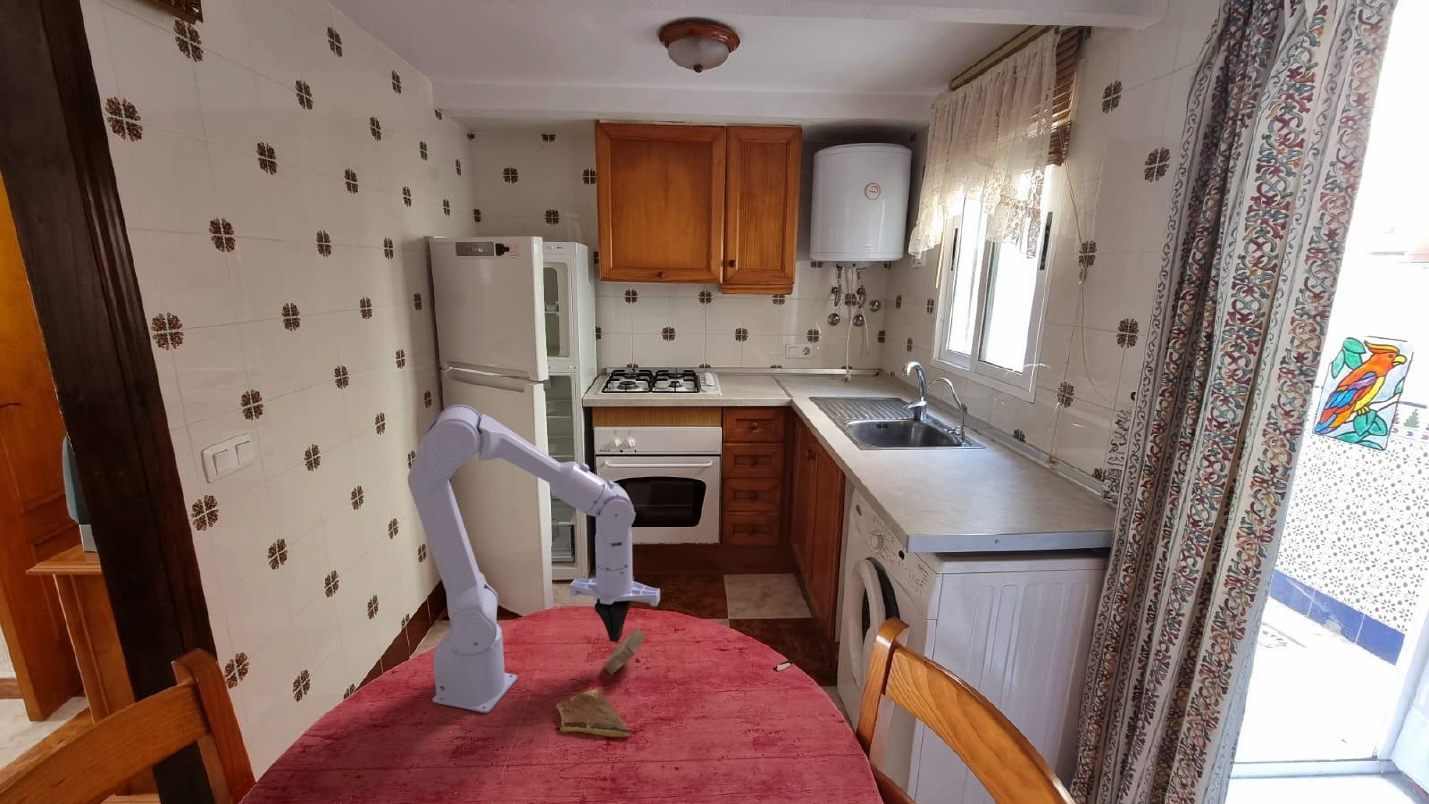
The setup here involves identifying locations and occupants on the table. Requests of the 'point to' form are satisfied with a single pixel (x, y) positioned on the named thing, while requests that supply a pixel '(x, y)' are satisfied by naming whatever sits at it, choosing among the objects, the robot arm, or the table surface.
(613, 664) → the oak slab
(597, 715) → the shard
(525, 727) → the table surface
